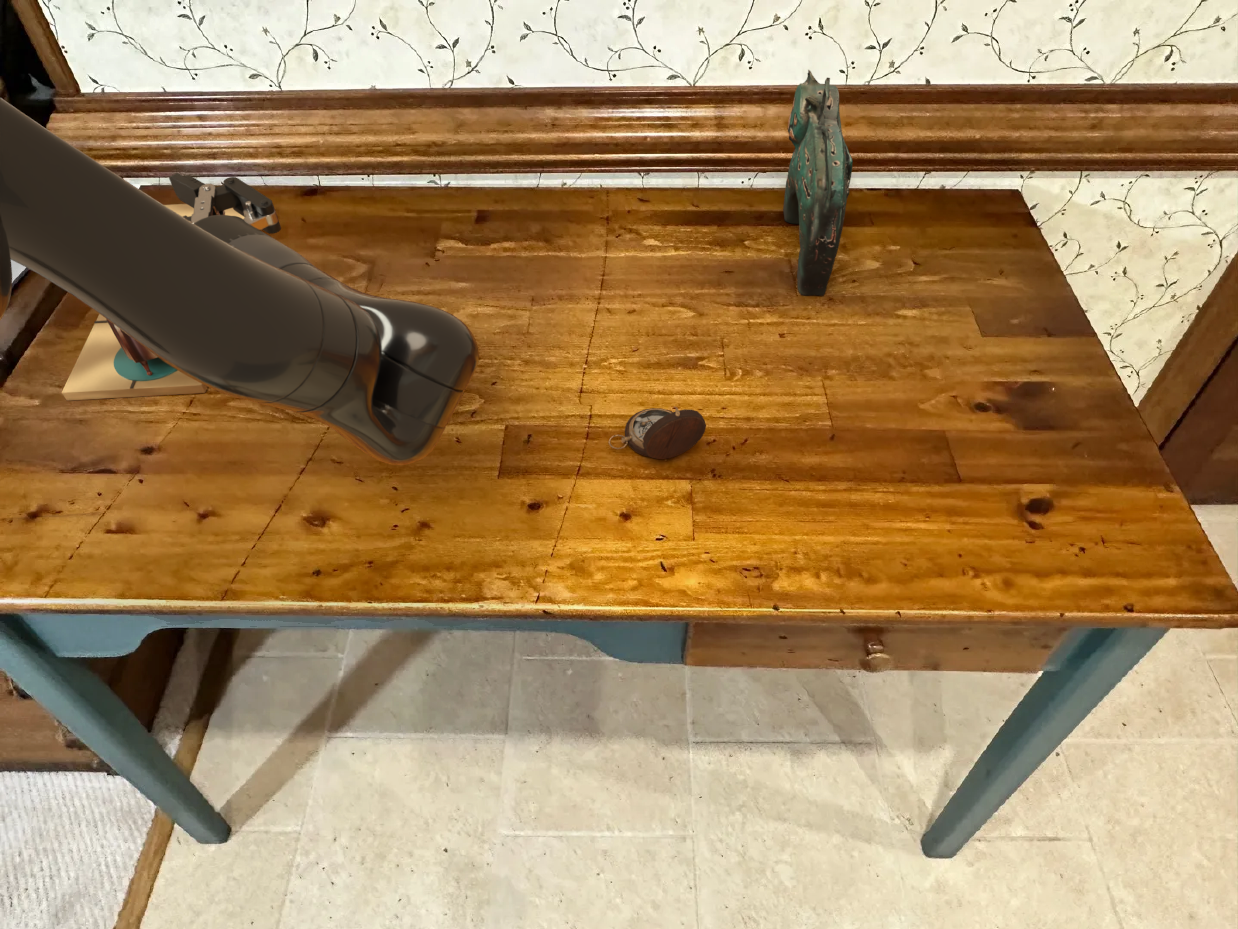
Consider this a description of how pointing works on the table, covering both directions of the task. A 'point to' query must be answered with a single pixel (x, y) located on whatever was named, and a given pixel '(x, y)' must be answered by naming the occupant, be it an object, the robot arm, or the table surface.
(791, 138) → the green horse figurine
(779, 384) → the table surface
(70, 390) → the board
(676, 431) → the compass
